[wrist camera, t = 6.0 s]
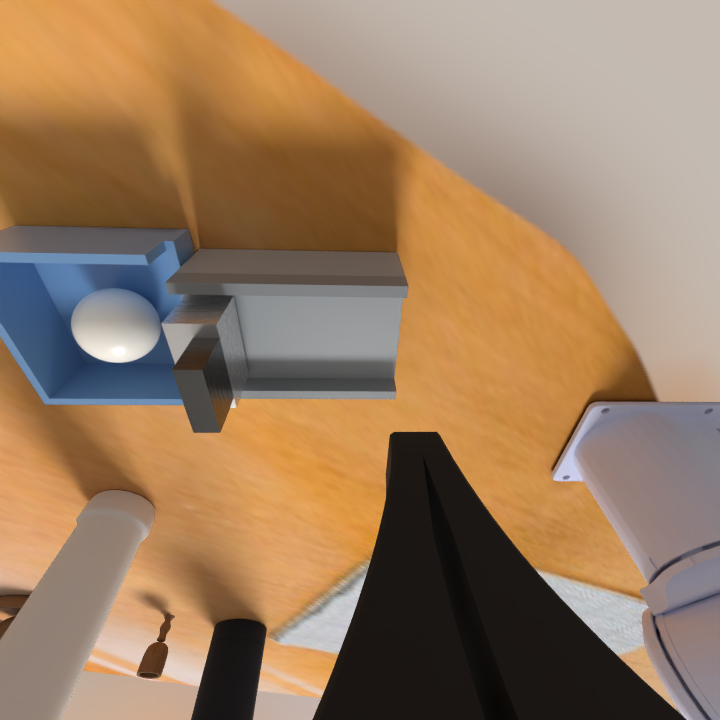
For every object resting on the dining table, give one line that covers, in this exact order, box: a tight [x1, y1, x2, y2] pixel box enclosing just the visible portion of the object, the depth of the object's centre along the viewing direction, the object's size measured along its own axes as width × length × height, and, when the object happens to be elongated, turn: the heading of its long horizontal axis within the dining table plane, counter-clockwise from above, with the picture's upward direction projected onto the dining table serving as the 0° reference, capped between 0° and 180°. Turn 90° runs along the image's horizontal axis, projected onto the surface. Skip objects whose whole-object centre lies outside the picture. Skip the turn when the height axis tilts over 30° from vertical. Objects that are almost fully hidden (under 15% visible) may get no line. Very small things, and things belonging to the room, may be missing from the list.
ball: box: [71, 288, 161, 363], centre depth 17 cm, size 4×4×4 cm
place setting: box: [0, 595, 175, 679], centre depth 41 cm, size 18×20×6 cm
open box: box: [0, 225, 195, 405], centre depth 17 cm, size 8×8×4 cm
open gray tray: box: [165, 249, 408, 399], centre depth 17 cm, size 10×6×4 cm, turn 88°
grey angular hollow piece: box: [161, 295, 249, 433], centre depth 14 cm, size 2×4×4 cm, turn 179°
